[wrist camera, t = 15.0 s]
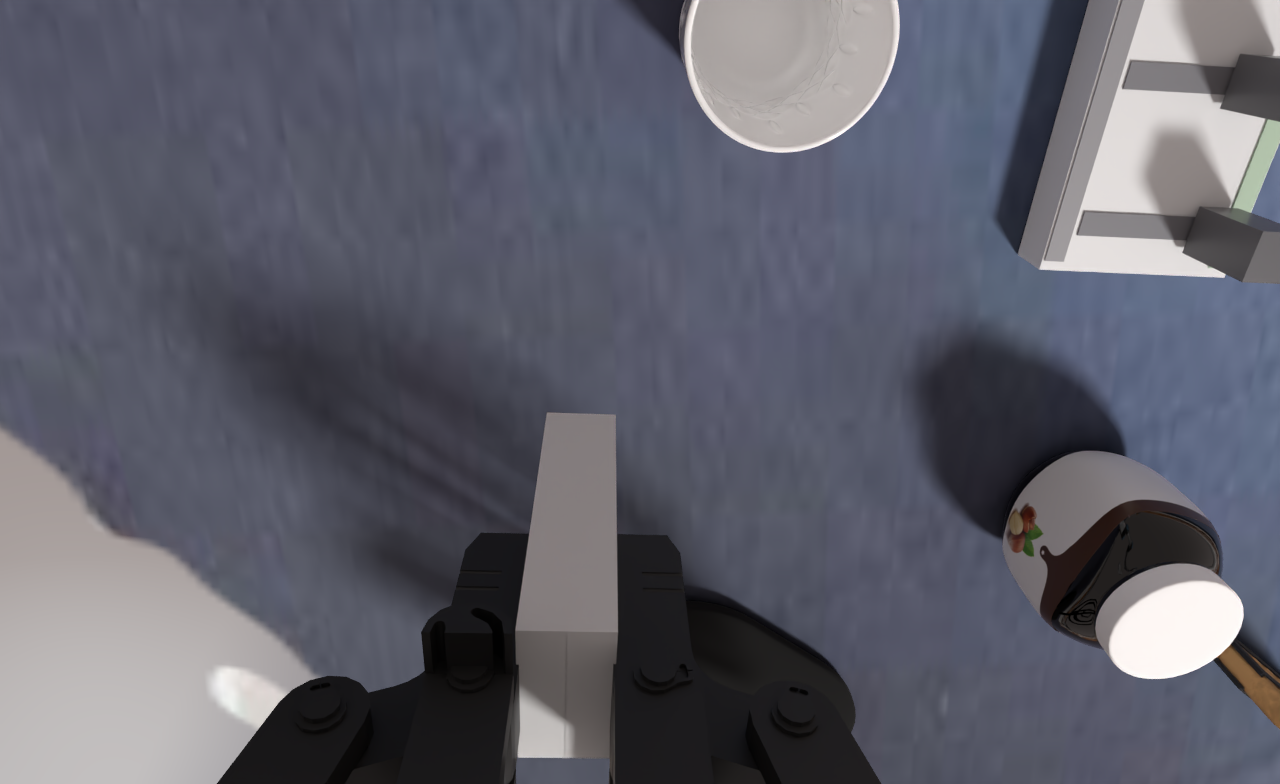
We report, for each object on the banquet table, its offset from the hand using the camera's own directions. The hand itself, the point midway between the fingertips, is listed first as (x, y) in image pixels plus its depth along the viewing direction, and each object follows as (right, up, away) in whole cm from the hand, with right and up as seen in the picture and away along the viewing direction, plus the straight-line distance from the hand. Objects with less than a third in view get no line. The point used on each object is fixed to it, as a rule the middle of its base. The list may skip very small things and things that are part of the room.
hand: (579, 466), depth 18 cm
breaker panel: (+27, +17, +22) cm, 39 cm away
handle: (+30, +10, +23) cm, 39 cm away
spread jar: (+30, -6, +35) cm, 46 cm away
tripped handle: (+30, +16, +19) cm, 39 cm away
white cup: (+7, +19, +20) cm, 29 cm away
